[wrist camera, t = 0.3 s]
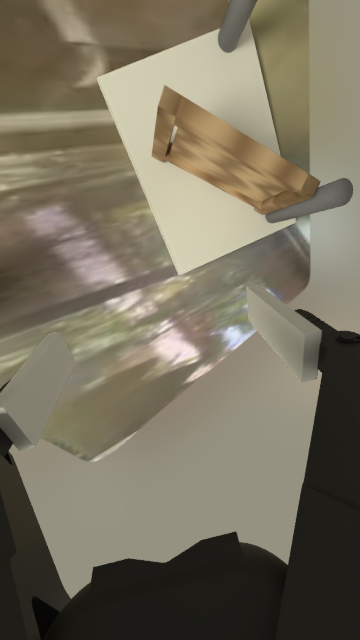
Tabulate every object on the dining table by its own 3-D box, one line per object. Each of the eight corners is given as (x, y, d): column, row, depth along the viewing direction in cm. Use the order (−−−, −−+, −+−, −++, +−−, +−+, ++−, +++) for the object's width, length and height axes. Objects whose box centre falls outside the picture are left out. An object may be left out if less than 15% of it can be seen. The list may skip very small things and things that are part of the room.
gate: (267, 203, 40) (320, 181, 29) (262, 214, 41) (313, 197, 29) (155, 142, 35) (164, 84, 23) (151, 156, 35) (157, 105, 24)
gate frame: (96, 79, 33) (49, -122, 16) (243, 20, 34) (354, -228, 17) (178, 274, 43) (206, 286, 25) (292, 223, 44) (395, 199, 26)
